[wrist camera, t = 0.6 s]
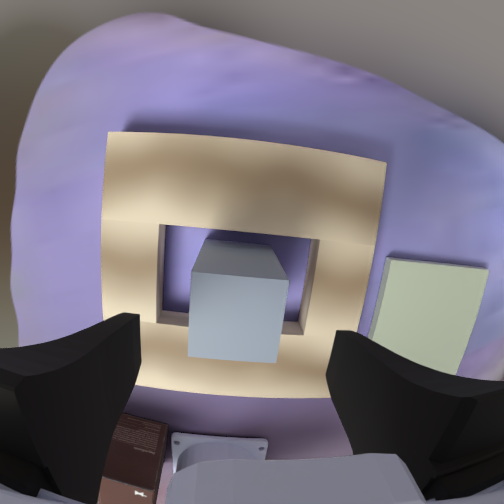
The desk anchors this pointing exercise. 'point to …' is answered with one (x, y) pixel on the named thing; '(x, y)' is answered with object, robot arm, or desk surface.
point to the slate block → (236, 302)
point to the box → (134, 462)
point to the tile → (427, 310)
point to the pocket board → (245, 220)
